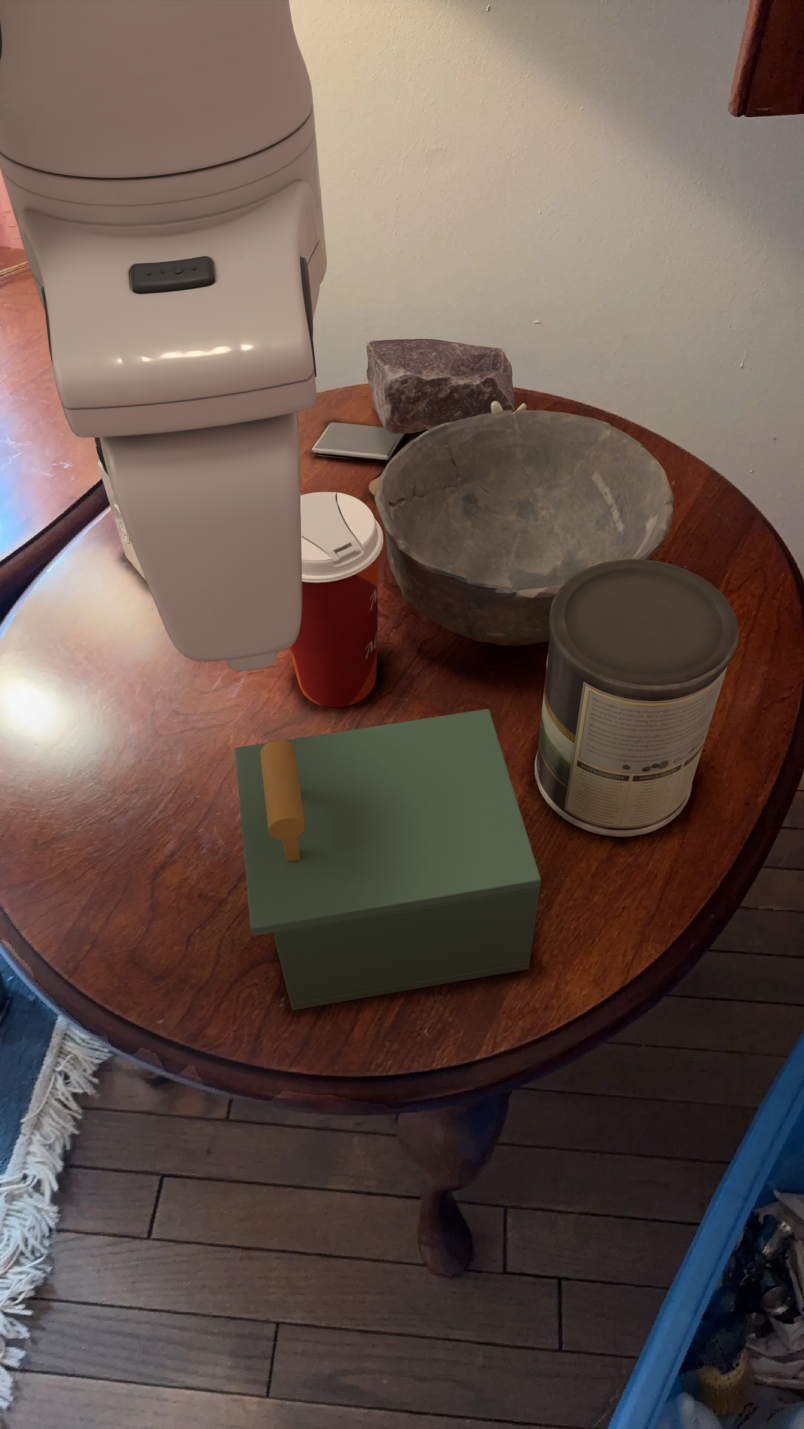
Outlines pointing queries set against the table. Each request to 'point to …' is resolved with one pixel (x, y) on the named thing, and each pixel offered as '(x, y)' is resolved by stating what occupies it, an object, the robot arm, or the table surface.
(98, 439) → the jar
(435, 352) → the rock
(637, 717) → the coffee can
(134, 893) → the table surface
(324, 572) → the paper cup
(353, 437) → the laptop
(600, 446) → the bowl
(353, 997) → the chest
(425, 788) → the lid
